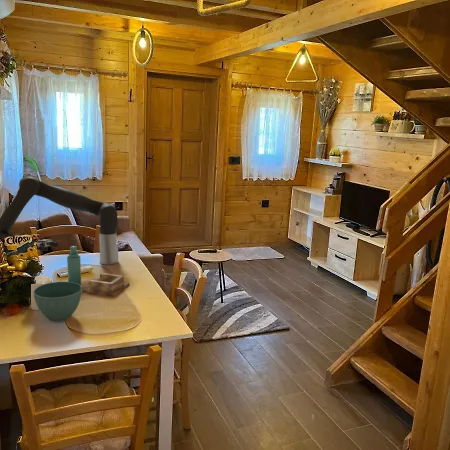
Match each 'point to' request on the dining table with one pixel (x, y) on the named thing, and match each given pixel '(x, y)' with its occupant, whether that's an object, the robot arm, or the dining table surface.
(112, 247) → the robot arm
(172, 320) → the dining table surface
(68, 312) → the teal bowl
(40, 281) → the candle holder
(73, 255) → the bottle
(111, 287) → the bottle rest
